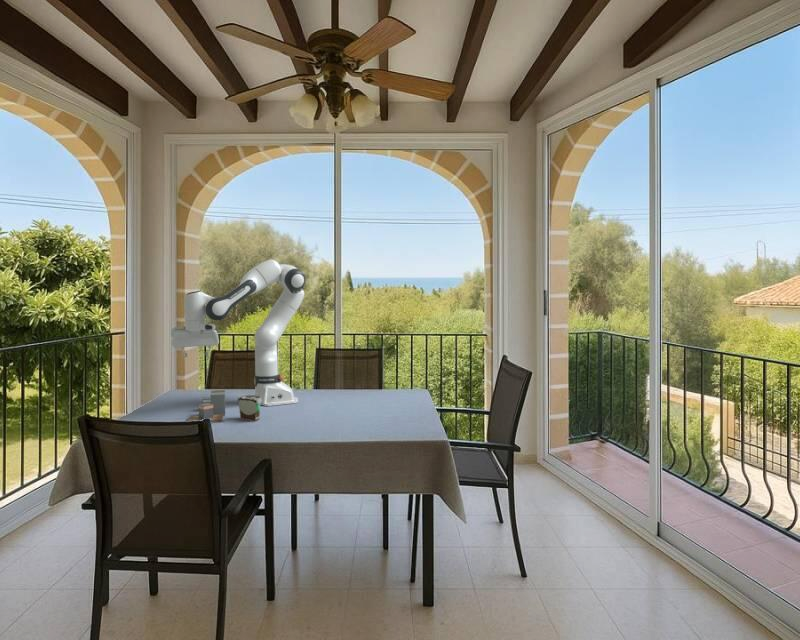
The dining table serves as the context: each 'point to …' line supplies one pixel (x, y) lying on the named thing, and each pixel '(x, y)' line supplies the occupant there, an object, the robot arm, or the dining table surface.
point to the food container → (249, 407)
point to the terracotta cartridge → (205, 410)
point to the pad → (215, 418)
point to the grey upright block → (218, 401)
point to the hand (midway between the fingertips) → (196, 356)
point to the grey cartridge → (206, 400)
